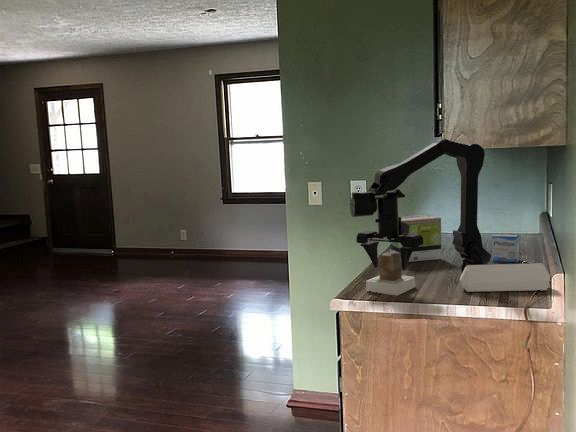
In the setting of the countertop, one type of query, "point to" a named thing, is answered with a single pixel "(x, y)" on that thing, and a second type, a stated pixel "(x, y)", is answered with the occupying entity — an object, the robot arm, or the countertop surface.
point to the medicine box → (505, 248)
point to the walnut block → (390, 266)
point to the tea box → (429, 232)
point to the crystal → (505, 277)
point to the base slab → (390, 285)
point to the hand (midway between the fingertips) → (390, 268)
